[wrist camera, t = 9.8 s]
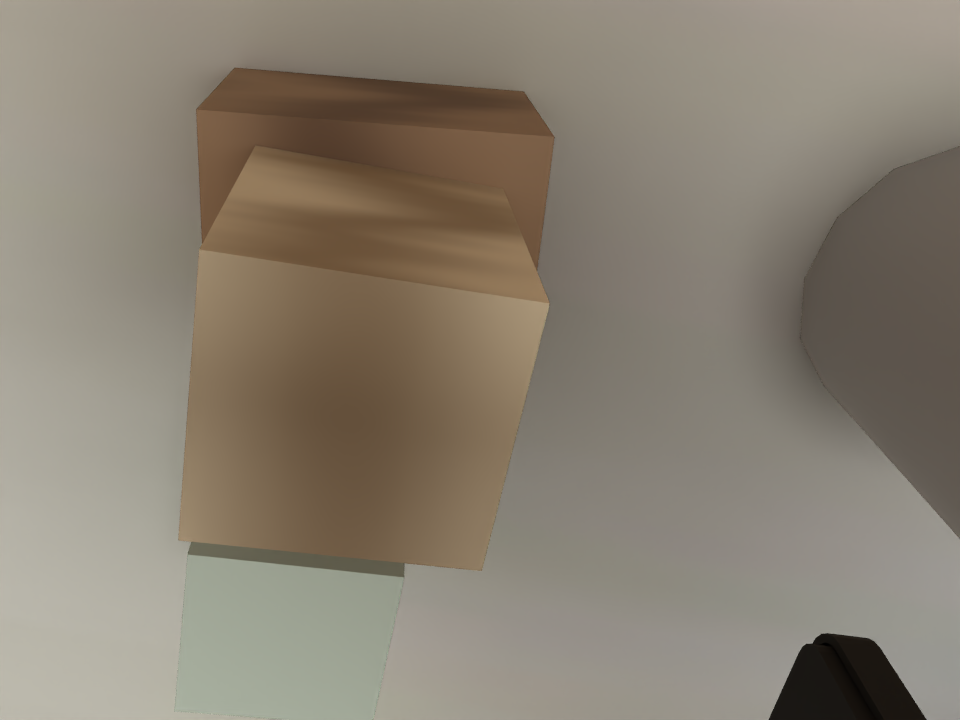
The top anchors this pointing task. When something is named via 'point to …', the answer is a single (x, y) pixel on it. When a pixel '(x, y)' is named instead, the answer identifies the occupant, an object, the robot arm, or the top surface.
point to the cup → (896, 322)
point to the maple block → (357, 363)
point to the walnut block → (378, 134)
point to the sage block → (284, 633)
